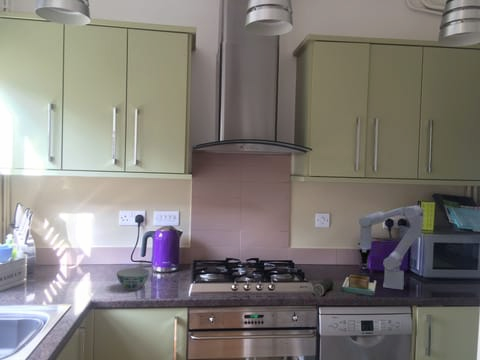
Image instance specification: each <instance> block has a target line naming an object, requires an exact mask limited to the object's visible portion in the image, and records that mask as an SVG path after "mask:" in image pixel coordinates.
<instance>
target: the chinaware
mask: <svg viewBox="0 0 480 360" xmlns="http://www.w3.org/2000/svg"><path fill="white" fill-rule="evenodd" d="M116 275H117V276H116V277H117V279H118V282H119V283H120V284H121V285H122V287H124V288H125V290H128V291H137V290H140V288H141V286H143V285H144V284H145V283H146V282H147V280H148V279H149V276H150V270H149V269H147V268H142V267H129V268H123V269H119V270H117V272H116Z"/></svg>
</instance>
